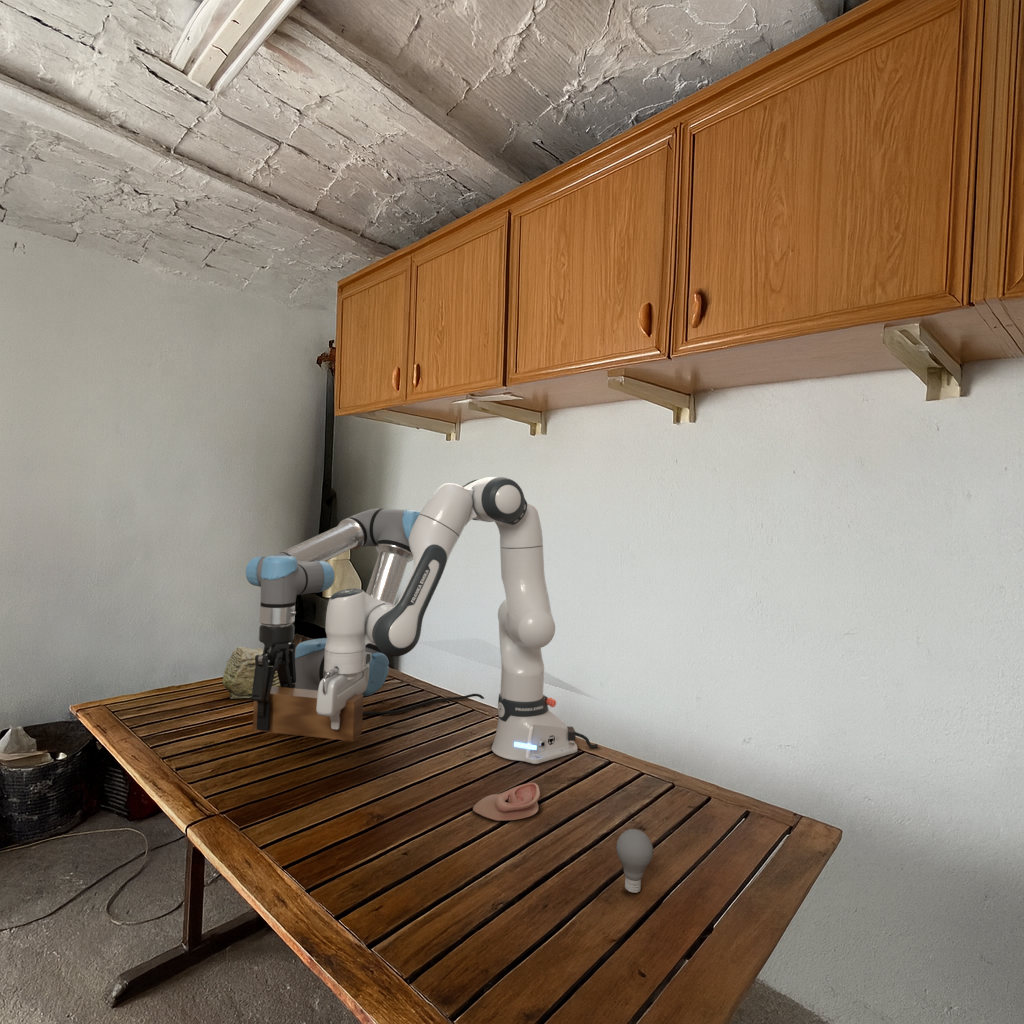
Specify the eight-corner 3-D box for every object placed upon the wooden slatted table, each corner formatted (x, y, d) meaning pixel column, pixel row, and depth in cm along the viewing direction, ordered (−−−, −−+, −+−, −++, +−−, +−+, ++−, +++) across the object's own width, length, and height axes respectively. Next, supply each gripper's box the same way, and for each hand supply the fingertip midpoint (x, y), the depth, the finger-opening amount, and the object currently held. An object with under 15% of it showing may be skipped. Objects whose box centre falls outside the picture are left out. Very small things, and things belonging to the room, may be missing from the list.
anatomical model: (469, 797, 128) (483, 773, 139) (468, 816, 128) (482, 791, 139) (534, 806, 125) (543, 781, 136) (533, 826, 125) (542, 799, 136)
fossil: (218, 695, 195) (220, 647, 195) (278, 685, 208) (279, 640, 207) (228, 703, 189) (230, 653, 188) (289, 692, 201) (290, 645, 201)
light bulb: (610, 879, 108) (613, 822, 108) (644, 879, 109) (647, 822, 109) (619, 902, 102) (622, 840, 102) (655, 901, 103) (658, 840, 103)
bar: (252, 730, 143) (253, 692, 143) (265, 722, 148) (266, 685, 148) (352, 741, 139) (354, 701, 139) (362, 732, 144) (363, 694, 144)
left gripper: (268, 634, 133) (264, 741, 134) (313, 617, 154) (310, 709, 154) (235, 631, 135) (231, 737, 135) (285, 614, 155) (281, 706, 156)
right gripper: (338, 675, 131) (336, 741, 131) (374, 652, 151) (372, 709, 152) (309, 673, 132) (307, 738, 132) (349, 650, 152) (347, 707, 153)
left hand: (273, 722), depth 145 cm, fingers open, 8 cm apart
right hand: (342, 723), depth 142 cm, fingers closed on bar, 5 cm apart
